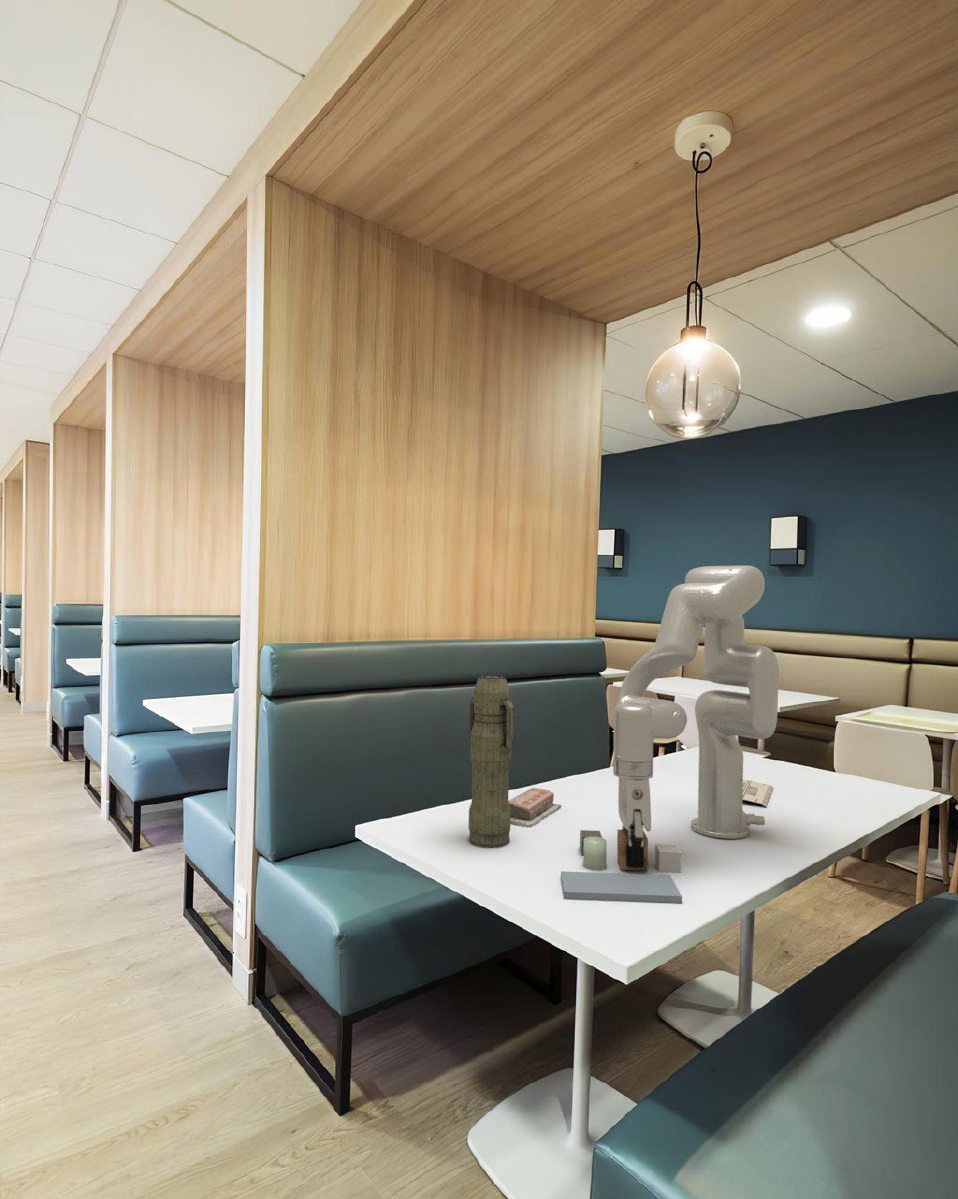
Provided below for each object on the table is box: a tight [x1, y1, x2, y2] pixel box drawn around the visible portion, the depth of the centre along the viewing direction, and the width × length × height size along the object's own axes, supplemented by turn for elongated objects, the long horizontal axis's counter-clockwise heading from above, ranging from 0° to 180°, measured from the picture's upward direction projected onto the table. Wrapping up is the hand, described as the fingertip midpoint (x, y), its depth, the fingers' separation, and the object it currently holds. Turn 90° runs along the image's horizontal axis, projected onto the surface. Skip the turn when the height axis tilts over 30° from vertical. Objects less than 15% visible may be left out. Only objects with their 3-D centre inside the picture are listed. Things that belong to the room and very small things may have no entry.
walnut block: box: [616, 829, 649, 871], centre depth 134 cm, size 5×5×6 cm
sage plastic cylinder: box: [582, 836, 608, 871], centre depth 134 cm, size 4×4×5 cm
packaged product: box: [508, 787, 562, 828], centre depth 166 cm, size 18×5×10 cm
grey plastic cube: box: [654, 844, 682, 874], centre depth 133 cm, size 4×4×4 cm
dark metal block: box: [579, 829, 603, 857], centre depth 141 cm, size 4×4×4 cm
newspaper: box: [742, 779, 774, 809], centre depth 186 cm, size 23×12×2 cm, turn 152°
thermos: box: [468, 675, 515, 849], centre depth 147 cm, size 9×12×35 cm
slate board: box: [560, 870, 683, 904], centre depth 123 cm, size 20×9×1 cm, turn 87°
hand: (632, 859), depth 134 cm, fingers closed on walnut block, 5 cm apart
